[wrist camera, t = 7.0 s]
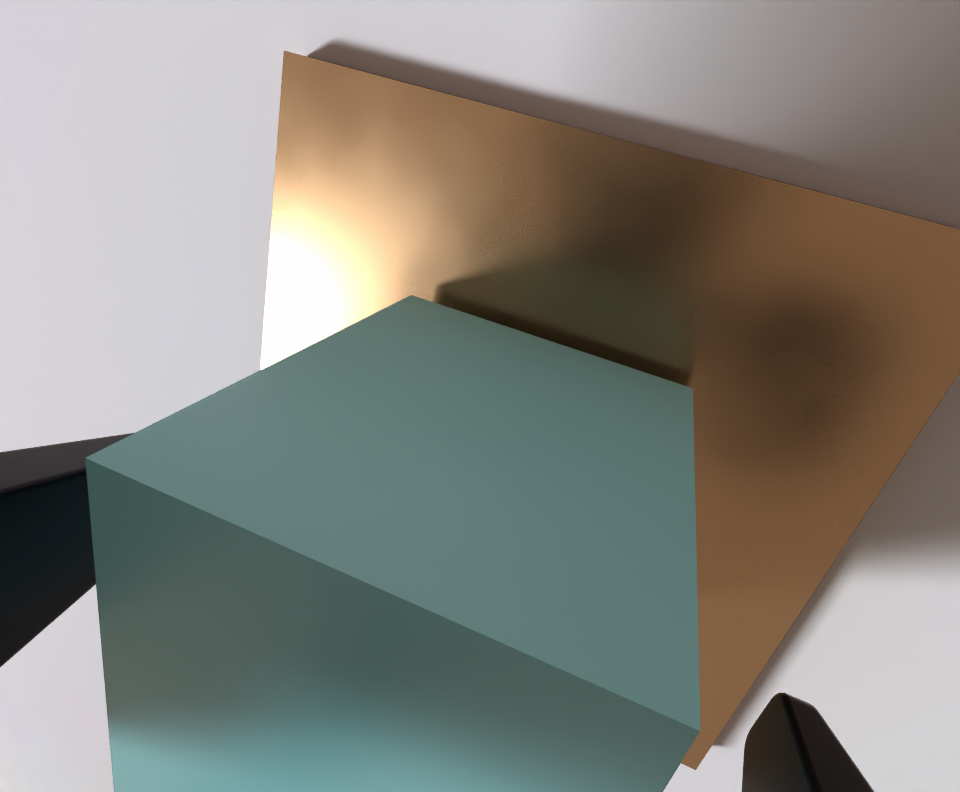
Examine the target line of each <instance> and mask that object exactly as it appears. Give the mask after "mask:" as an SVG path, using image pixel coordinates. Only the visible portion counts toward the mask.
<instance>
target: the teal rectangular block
mask: <svg viewBox="0 0 960 792" xmlns="http://www.w3.org/2000/svg"><path fill="white" fill-rule="evenodd" d="M85 461H86V473H87V484H88V496H89V507H90V519H91V530H92V542H93V553H94V565H95V576H96V588H97V600H98V611H99V623H100V634H101V646H102V657H103V669H104V680H105V692H106V703H107V715H108V727H109V738H110V750H111V761H112V773H113V784H114V792H663V790H664V789H665V787H666V786H667V784H668V782H669V781H670V779H671V778H672V776H673V774H674V773H675V771H676V770H677V768H678V766H679V765H680V763H681V761H682V760H683V758H684V757H685V755H686V753H687V752H688V750H689V749H690V747H691V745H692V744H693V742H694V741H695V739H696V737H697V736H698V734H699V733H700V690H699V644H698V598H697V553H696V507H695V461H694V415H693V388H690V387H687V386H684V385H681V384H678V383H675V382H672V381H669V380H666V379H663V378H660V377H657V376H654V375H651V374H648V373H645V372H642V371H639V370H636V369H633V368H630V367H627V366H624V365H621V364H618V363H615V362H612V361H609V360H606V359H603V358H600V357H597V356H594V355H591V354H588V353H585V352H582V351H579V350H576V349H573V348H570V347H567V346H564V345H561V344H558V343H555V342H552V341H549V340H546V339H543V338H540V337H537V336H534V335H531V334H528V333H525V332H522V331H519V330H516V329H513V328H509V327H506V326H503V325H500V324H497V323H494V322H491V321H488V320H485V319H482V318H479V317H476V316H473V315H470V314H467V313H464V312H461V311H458V310H455V309H452V308H449V307H446V306H443V305H440V304H437V303H434V302H431V301H428V300H425V299H422V298H419V297H416V296H413V295H410V296H408V297H406V298H404V299H402V300H400V301H398V302H396V303H394V304H392V305H390V306H388V307H386V308H384V309H382V310H380V311H378V312H376V313H374V314H372V315H370V316H368V317H366V318H364V319H362V320H360V321H358V322H356V323H354V324H352V325H350V326H348V327H346V328H344V329H342V330H340V331H338V332H336V333H334V334H332V335H330V336H328V337H326V338H324V339H322V340H320V341H318V342H316V343H314V344H312V345H310V346H308V347H306V348H304V349H302V350H300V351H298V352H296V353H294V354H292V355H290V356H288V357H286V358H284V359H282V360H280V361H278V362H276V363H274V364H272V365H270V366H268V367H266V368H264V369H262V370H260V371H258V372H256V373H254V374H252V375H250V376H248V377H246V378H244V379H242V380H240V381H238V382H236V383H234V384H232V385H230V386H228V387H226V388H224V389H222V390H220V391H218V392H216V393H214V394H212V395H210V396H208V397H206V398H204V399H202V400H200V401H198V402H196V403H194V404H192V405H190V406H188V407H186V408H184V409H182V410H180V411H178V412H176V413H174V414H172V415H170V416H168V417H166V418H164V419H162V420H160V421H158V422H156V423H154V424H152V425H150V426H148V427H146V428H144V429H142V430H140V431H138V432H136V433H134V434H132V435H130V436H128V437H126V438H124V439H122V440H120V441H118V442H116V443H114V444H112V445H110V446H108V447H106V448H104V449H102V450H100V451H98V452H96V453H94V454H92V455H90V456H88V457H86V458H85Z"/></svg>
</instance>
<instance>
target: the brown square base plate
mask: <svg viewBox="0 0 960 792" xmlns="http://www.w3.org/2000/svg"><path fill="white" fill-rule="evenodd" d="M410 295H413V296H416V297H419V298H422V299H425V300H428V301H431V302H434V303H437V304H440V305H443V306H446V307H449V308H452V309H455V310H458V311H461V312H464V313H467V314H470V315H473V316H476V317H479V318H482V319H485V320H488V321H491V322H494V323H497V324H500V325H503V326H506V327H509V328H513V329H516V330H519V331H522V332H525V333H528V334H531V335H534V336H537V337H540V338H543V339H546V340H549V341H552V342H555V343H558V344H561V345H564V346H567V347H570V348H573V349H576V350H579V351H582V352H585V353H588V354H591V355H594V356H597V357H600V358H603V359H606V360H609V361H612V362H615V363H618V364H621V365H624V366H627V367H630V368H633V369H636V370H639V371H642V372H645V373H648V374H651V375H654V376H657V377H660V378H663V379H666V380H669V381H672V382H675V383H678V384H681V385H684V386H687V387H690V388H693V415H694V461H695V507H696V553H697V598H698V644H699V690H700V733H699V734H698V736H697V737H696V739H695V741H694V742H693V744H692V745H691V747H690V749H689V750H688V752H687V753H686V755H685V757H684V758H683V760H682V761H681V763H682V764H684V765H686V766H688V767H690V768H693V769H695V770H696V769H697V767H698V766H699V764H700V763H701V761H702V760H703V758H704V757H705V755H706V754H707V752H708V751H709V749H710V748H711V746H712V745H713V743H714V742H715V740H716V739H717V737H718V736H719V734H720V733H721V731H722V730H723V728H724V727H725V725H726V724H727V722H728V721H729V719H730V717H731V716H732V714H733V713H734V711H735V710H736V708H737V707H738V705H739V704H740V702H741V701H742V699H743V698H744V696H745V695H746V693H747V692H748V690H749V689H750V687H751V686H752V684H753V683H754V681H755V680H756V678H757V677H758V675H759V674H760V672H761V671H762V669H763V668H764V666H765V665H766V663H767V662H768V660H769V659H770V657H771V656H772V654H773V653H774V651H775V650H776V648H777V647H778V645H779V644H780V642H781V641H782V639H783V638H784V636H785V635H786V633H787V632H788V630H789V629H790V627H791V625H792V624H793V622H794V621H795V619H796V618H797V616H798V615H799V613H800V612H801V610H802V609H803V607H804V606H805V604H806V603H807V601H808V600H809V598H810V597H811V595H812V594H813V592H814V591H815V589H816V588H817V586H818V585H819V583H820V582H821V580H822V579H823V577H824V576H825V574H826V573H827V571H828V570H829V568H830V567H831V565H832V564H833V562H834V561H835V559H836V558H837V556H838V555H839V553H840V552H841V550H842V549H843V547H844V546H845V544H846V543H847V541H848V540H849V538H850V537H851V535H852V533H853V532H854V530H855V529H856V527H857V526H858V524H859V523H860V521H861V520H862V518H863V517H864V515H865V514H866V512H867V511H868V509H869V508H870V506H871V505H872V503H873V502H874V500H875V499H876V497H877V496H878V494H879V493H880V491H881V490H882V488H883V487H884V485H885V484H886V482H887V481H888V479H889V478H890V476H891V475H892V473H893V472H894V470H895V469H896V467H897V466H898V464H899V463H900V461H901V460H902V458H903V457H904V455H905V454H906V452H907V451H908V449H909V448H910V446H911V445H912V443H913V442H914V440H915V438H916V437H917V435H918V434H919V432H920V431H921V429H922V428H923V426H924V425H925V423H926V422H927V420H928V419H929V417H930V416H931V414H932V413H933V411H934V410H935V408H936V407H937V405H938V404H939V402H940V401H941V399H942V398H943V396H944V395H945V393H946V392H947V390H948V389H949V387H950V386H951V384H952V383H953V381H954V380H955V378H956V377H957V375H958V374H959V372H960V229H957V228H953V227H949V226H945V225H942V224H938V223H934V222H930V221H926V220H923V219H919V218H915V217H911V216H907V215H904V214H900V213H896V212H892V211H889V210H885V209H881V208H877V207H873V206H870V205H866V204H862V203H858V202H855V201H851V200H847V199H843V198H839V197H836V196H832V195H828V194H824V193H820V192H817V191H813V190H809V189H805V188H802V187H798V186H794V185H790V184H786V183H783V182H779V181H775V180H771V179H768V178H764V177H760V176H756V175H752V174H749V173H745V172H741V171H737V170H733V169H730V168H726V167H722V166H718V165H715V164H711V163H707V162H703V161H699V160H696V159H692V158H688V157H684V156H681V155H677V154H673V153H669V152H665V151H662V150H658V149H654V148H650V147H646V146H643V145H639V144H635V143H631V142H628V141H624V140H620V139H616V138H612V137H609V136H605V135H601V134H597V133H593V132H590V131H586V130H582V129H578V128H575V127H571V126H567V125H563V124H559V123H556V122H552V121H548V120H544V119H541V118H537V117H533V116H529V115H525V114H522V113H518V112H514V111H510V110H506V109H503V108H499V107H495V106H491V105H488V104H484V103H480V102H476V101H472V100H469V99H465V98H461V97H457V96H454V95H450V94H446V93H442V92H438V91H435V90H431V89H427V88H423V87H419V86H416V85H412V84H408V83H404V82H401V81H397V80H393V79H389V78H385V77H382V76H378V75H374V74H370V73H367V72H363V71H359V70H355V69H351V68H348V67H344V66H340V65H336V64H332V63H329V62H325V61H321V60H317V59H314V58H310V57H306V56H302V55H298V54H295V53H291V52H287V51H284V58H283V71H282V85H281V99H280V112H279V126H278V139H277V153H276V166H275V180H274V194H273V207H272V221H271V234H270V248H269V262H268V275H267V289H266V302H265V316H264V330H263V343H262V357H261V370H262V369H264V368H266V367H268V366H270V365H272V364H274V363H276V362H278V361H280V360H282V359H284V358H286V357H288V356H290V355H292V354H294V353H296V352H298V351H300V350H302V349H304V348H306V347H308V346H310V345H312V344H314V343H316V342H318V341H320V340H322V339H324V338H326V337H328V336H330V335H332V334H334V333H336V332H338V331H340V330H342V329H344V328H346V327H348V326H350V325H352V324H354V323H356V322H358V321H360V320H362V319H364V318H366V317H368V316H370V315H372V314H374V313H376V312H378V311H380V310H382V309H384V308H386V307H388V306H390V305H392V304H394V303H396V302H398V301H400V300H402V299H404V298H406V297H408V296H410Z"/></svg>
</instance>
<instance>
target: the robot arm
mask: <svg viewBox="0 0 960 792" xmlns="http://www.w3.org/2000/svg"><path fill="white" fill-rule="evenodd" d="M132 434H134V433H131V434H124V435H117V436H110V437H103V438H96V439H89V440H82V441H75V442H68V443H61V444H54V445H47V446H40V447H34V448H27V449H20V450H13V451H6V452H0V667H1V666H2V665H3V664H5V663H6V662H7V661H8V660H9V659H10V658H12V657H13V656H14V655H15V654H16V653H17V652H18V651H20V650H21V649H22V648H23V647H24V646H25V645H26V644H28V643H29V642H30V641H31V640H32V639H33V638H34V637H36V636H37V635H38V634H39V633H40V632H41V631H43V630H44V629H45V628H46V627H47V626H48V625H49V624H51V623H52V622H53V621H54V620H55V619H56V618H57V617H59V616H60V615H61V614H62V613H63V612H64V611H65V610H67V609H68V608H69V607H70V606H71V605H72V604H74V603H75V602H76V601H77V600H78V599H79V598H80V597H82V596H83V595H84V594H85V593H86V592H87V591H88V590H90V589H91V588H92V587H93V586H94V585H95V584H96V576H95V565H94V553H93V542H92V530H91V519H90V507H89V496H88V484H87V473H86V461H85V458H86V457H88V456H90V455H92V454H94V453H96V452H98V451H100V450H102V449H104V448H106V447H108V446H110V445H112V444H114V443H116V442H118V441H120V440H122V439H124V438H126V437H128V436H130V435H132ZM742 792H874V791H873V789H872V788H871V786H870V785H869V783H868V782H867V781H866V779H865V778H864V776H863V775H862V773H861V772H860V771H859V769H858V768H857V766H856V765H855V763H854V762H853V761H852V759H851V758H850V756H849V755H848V753H847V752H846V751H845V749H844V748H843V746H842V745H841V743H840V742H839V740H838V739H837V738H836V736H835V735H834V733H833V732H832V730H831V729H830V728H829V726H828V725H827V723H826V722H825V720H824V719H823V718H822V716H821V715H820V713H819V712H818V711H817V709H816V708H815V707H814V706H812V705H811V704H809V703H807V702H805V701H802V700H800V699H798V698H795V697H793V696H791V695H788V694H786V693H778V694H776V695H775V696H774V697H773V698H772V699H771V700H770V702H769V703H768V705H767V706H766V708H765V709H764V710H763V712H762V713H761V715H760V716H759V718H758V719H757V720H756V722H755V723H754V725H753V726H752V728H751V729H750V731H749V733H748V735H747V739H746V743H745V749H744V764H743V780H742Z"/></svg>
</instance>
